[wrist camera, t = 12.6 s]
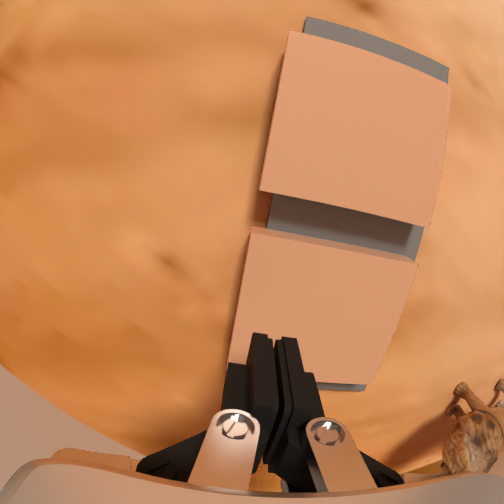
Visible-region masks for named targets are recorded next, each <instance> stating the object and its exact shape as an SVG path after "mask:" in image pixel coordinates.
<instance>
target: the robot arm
mask: <svg viewBox="0 0 504 504" xmlns="http://www.w3.org/2000/svg"><path fill="white" fill-rule="evenodd" d="M262 455H263V464H268V472H269V473H275V474H277V475H278V476H279V477H280V478H281V488H282V492H261V491H248V488H249V483H250V478H251V475H252V474H253V473H255V472H256V470H257V468H258V465H259V463H260V460H261V458H262ZM0 504H504V479H503V478H502V477H500V476H497V475H494V474H489V473H463V474H455V475H447V474H408V473H404V474H403V475H402V476H400V475H399V474H398V473H397V472H396V471H394V470H392V469H391V468H389V467H387V466H385V465H383V464H382V463H380V462H378V461H376V460H375V459H373V458H371V457H369V456H368V455H366V454H364V453H363V452H361V451H359V450H358V448H357V446H356V444H355V442H354V440H353V438H352V436H351V434H350V432H349V430H348V429H347V428H346V426H345V425H344V424H342V423H341V422H339V421H337V420H335V419H332V418H329V417H325V415H324V411H323V407H322V403H321V400H320V396H319V392H318V388H317V384H316V380H315V376H314V374H313V373H312V372H304V367H303V363H302V358H301V354H300V350H299V345H298V341H297V338H291V337H284V336H282V338H281V340H279V339H276V341H275V344H274V348H273V339H271V338H268V335H267V334H263V333H256V332H253V334H252V338H251V342H250V347H249V351H248V356H247V360H246V365H245V364H238V363H232V362H228V367H227V372H226V377H225V383H224V390H223V397H222V405H221V411H220V412H218V413H217V414H215V415H214V417H213V418H212V420H211V423H210V425H209V428H208V430H206V431H204V432H202V433H199V434H197V435H195V436H193V437H191V438H189V439H186V440H184V441H182V442H180V443H177V444H175V445H173V446H170V447H168V448H166V449H163V450H161V451H159V452H156V453H154V454H151V455H149V456H147V457H145V458H143V459H142V460H133V459H130V456H122V455H113V454H105V453H98V452H90V451H85V450H79V449H73V448H64V449H61V450H58V451H57V452H55V453H54V454H53V456H52V458H45V459H37V460H33V461H30V462H28V463H26V464H24V465H23V466H22V467H21V468H19V469H18V470H17V471H16V472H15V473H14V474H13V476H12V477H11V478H10V479H9V480H8V482H7V483H6V485H5V486H4V488H3V489H2V491H1V492H0Z"/></svg>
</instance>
